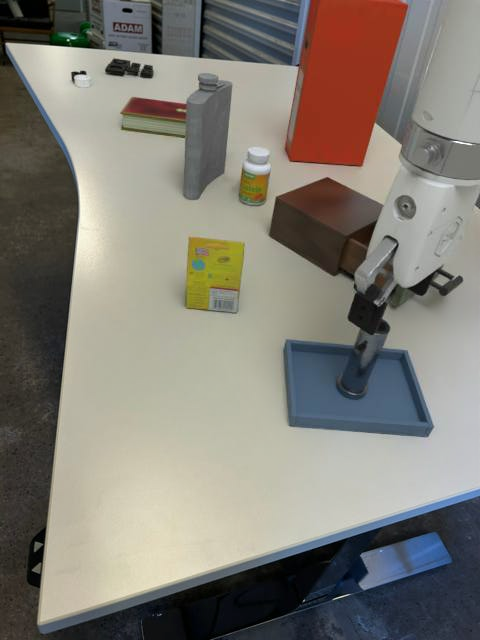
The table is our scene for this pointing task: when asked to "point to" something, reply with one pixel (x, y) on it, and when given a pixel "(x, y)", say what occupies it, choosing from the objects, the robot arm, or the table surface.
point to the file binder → (342, 78)
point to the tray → (346, 414)
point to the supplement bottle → (255, 176)
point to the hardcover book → (154, 117)
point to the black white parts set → (113, 71)
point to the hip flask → (206, 133)
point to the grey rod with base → (362, 362)
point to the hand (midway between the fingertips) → (387, 307)
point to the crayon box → (214, 274)
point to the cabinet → (322, 221)
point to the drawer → (388, 268)
